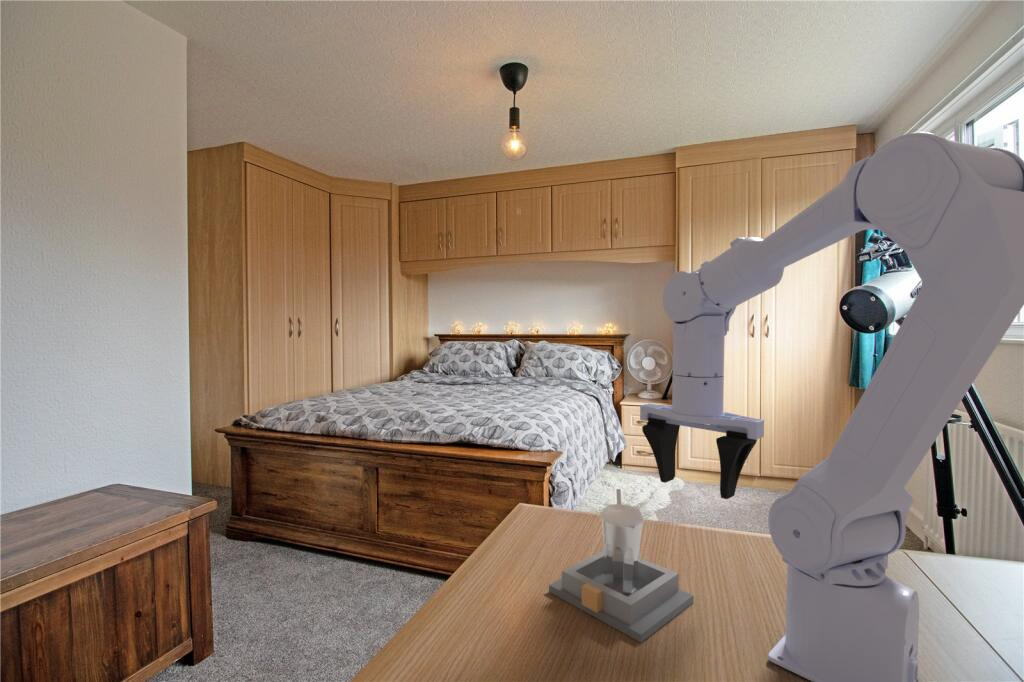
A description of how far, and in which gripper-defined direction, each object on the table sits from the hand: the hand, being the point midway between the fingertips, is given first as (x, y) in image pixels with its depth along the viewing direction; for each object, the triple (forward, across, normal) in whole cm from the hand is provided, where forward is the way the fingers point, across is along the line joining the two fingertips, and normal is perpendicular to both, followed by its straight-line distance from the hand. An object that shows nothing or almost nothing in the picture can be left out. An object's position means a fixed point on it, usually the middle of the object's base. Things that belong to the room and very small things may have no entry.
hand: (696, 488), depth 60 cm
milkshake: (+10, +4, +10) cm, 14 cm away
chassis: (+10, +3, +11) cm, 15 cm away
